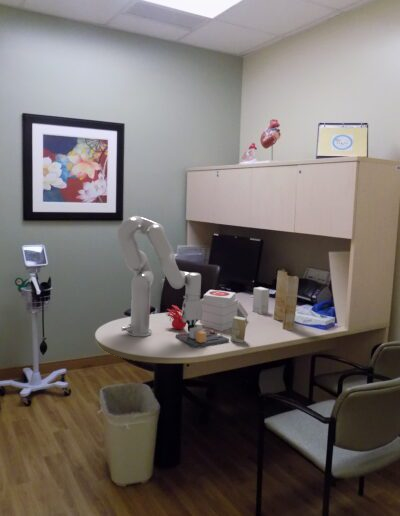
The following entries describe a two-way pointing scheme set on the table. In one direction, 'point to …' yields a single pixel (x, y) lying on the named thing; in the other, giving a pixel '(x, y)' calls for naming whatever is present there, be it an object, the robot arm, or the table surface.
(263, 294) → the skincare box
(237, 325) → the skincare box
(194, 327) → the ivory slider
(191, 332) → the grey slider
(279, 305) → the parchment
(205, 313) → the pizza boxes
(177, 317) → the heart organ
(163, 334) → the table surface
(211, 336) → the panel
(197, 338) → the orange slider
